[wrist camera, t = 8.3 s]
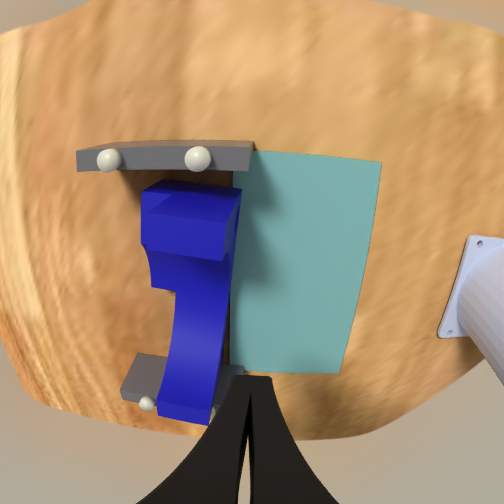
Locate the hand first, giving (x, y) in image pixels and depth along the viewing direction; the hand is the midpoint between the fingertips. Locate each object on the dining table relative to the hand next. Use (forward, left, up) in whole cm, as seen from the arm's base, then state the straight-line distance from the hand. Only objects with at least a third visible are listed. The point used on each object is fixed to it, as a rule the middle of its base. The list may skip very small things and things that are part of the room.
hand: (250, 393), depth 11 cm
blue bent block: (+4, 0, -9) cm, 10 cm away
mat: (-2, 0, -9) cm, 9 cm away
